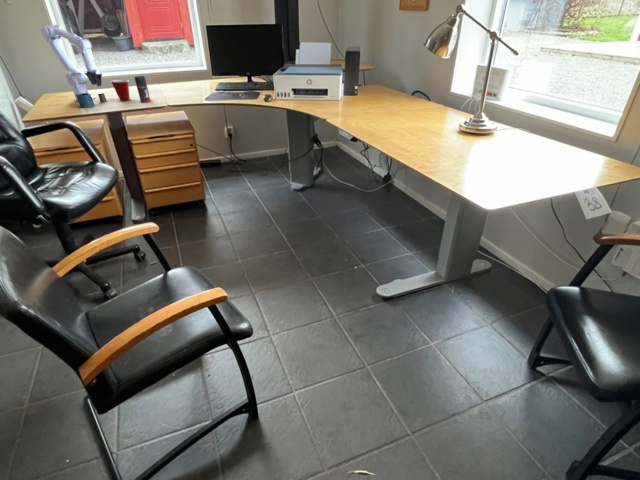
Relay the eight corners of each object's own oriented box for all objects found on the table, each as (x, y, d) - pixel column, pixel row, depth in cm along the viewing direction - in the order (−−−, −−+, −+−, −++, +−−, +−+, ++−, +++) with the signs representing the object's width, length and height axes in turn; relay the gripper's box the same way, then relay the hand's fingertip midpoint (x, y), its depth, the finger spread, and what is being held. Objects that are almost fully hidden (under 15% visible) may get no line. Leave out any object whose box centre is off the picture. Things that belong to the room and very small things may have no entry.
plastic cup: (137, 98, 253) (132, 78, 247) (125, 102, 245) (120, 82, 238) (124, 97, 256) (119, 78, 250) (112, 101, 248) (106, 81, 241)
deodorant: (147, 102, 242) (140, 77, 234) (139, 102, 243) (132, 77, 235) (152, 100, 247) (146, 75, 238) (144, 100, 248) (137, 75, 239)
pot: (83, 108, 233) (79, 96, 229) (77, 106, 237) (73, 94, 233) (99, 105, 239) (95, 93, 235) (93, 103, 243) (89, 91, 240)
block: (99, 101, 247) (96, 92, 244) (104, 100, 249) (102, 91, 246) (102, 102, 245) (99, 93, 242) (107, 101, 248) (104, 92, 245)
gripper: (77, 61, 234) (85, 84, 241) (87, 63, 226) (95, 87, 233) (89, 59, 238) (96, 83, 246) (99, 61, 230) (107, 85, 238)
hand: (96, 85), depth 240 cm, fingers open, 7 cm apart
